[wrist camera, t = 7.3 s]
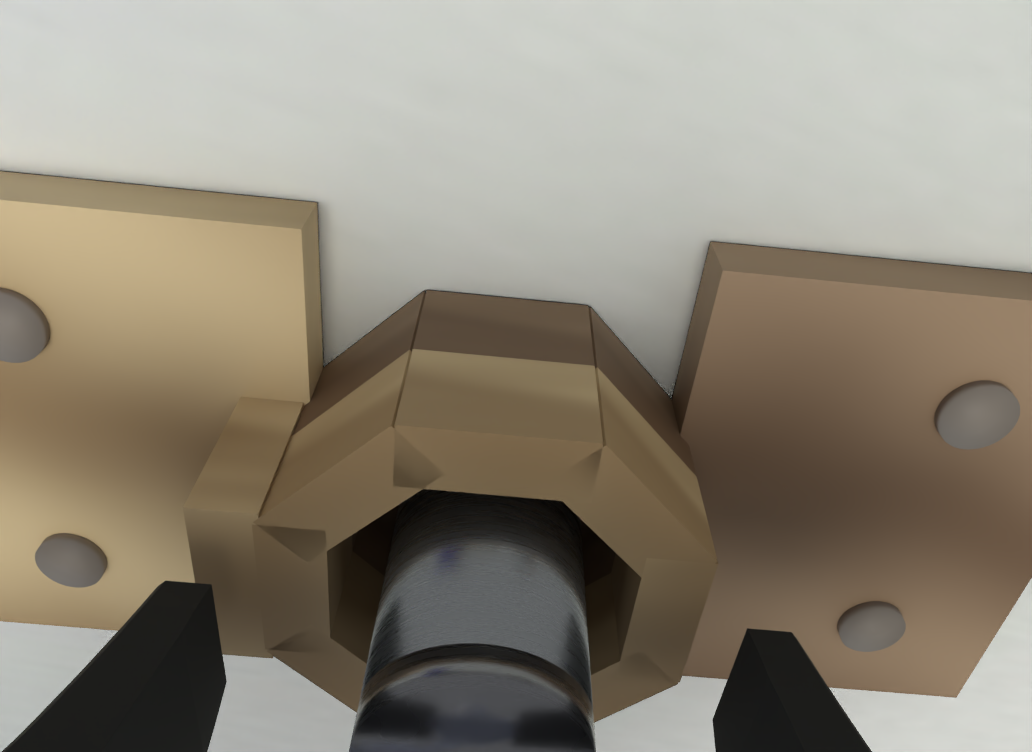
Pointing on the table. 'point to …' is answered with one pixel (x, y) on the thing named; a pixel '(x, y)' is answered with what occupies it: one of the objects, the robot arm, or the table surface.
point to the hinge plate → (807, 448)
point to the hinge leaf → (286, 441)
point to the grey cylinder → (479, 631)
